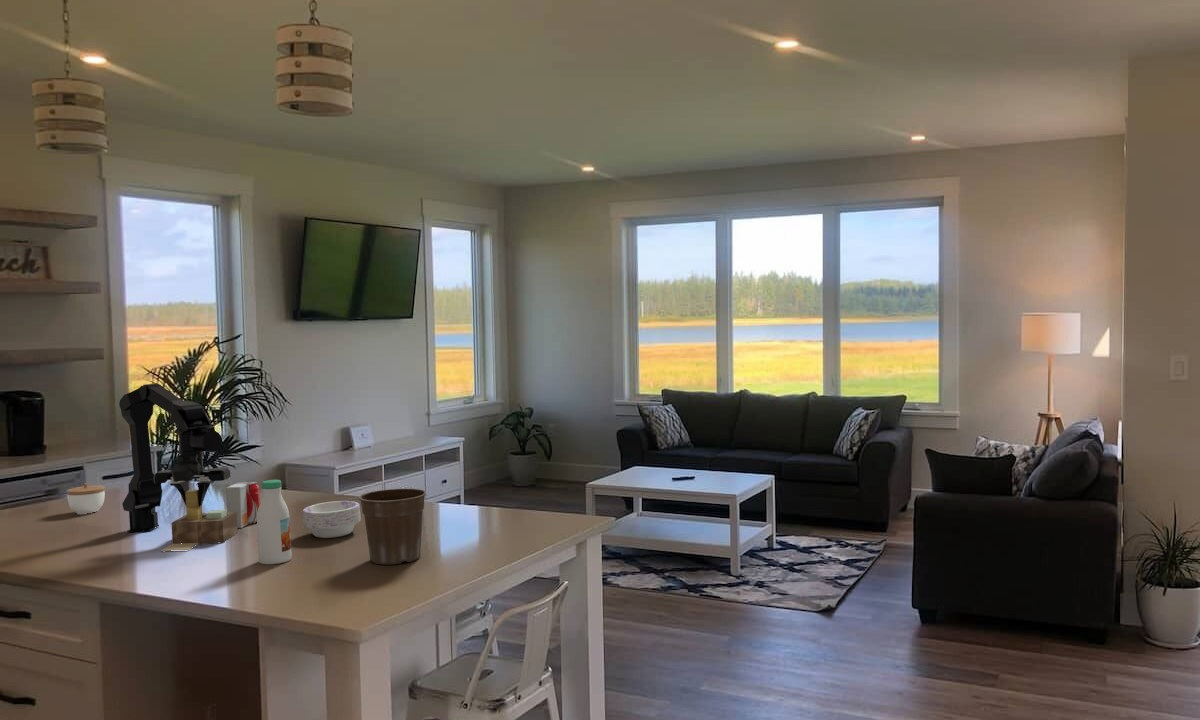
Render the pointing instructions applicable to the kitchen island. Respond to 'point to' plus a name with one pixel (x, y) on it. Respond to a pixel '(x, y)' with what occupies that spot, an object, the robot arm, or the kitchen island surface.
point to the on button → (216, 514)
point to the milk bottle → (273, 525)
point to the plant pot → (393, 524)
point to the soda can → (252, 500)
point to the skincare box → (237, 503)
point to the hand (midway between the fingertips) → (194, 506)
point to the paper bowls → (331, 518)
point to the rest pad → (180, 546)
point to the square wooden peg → (193, 505)
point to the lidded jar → (86, 498)
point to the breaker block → (204, 529)
